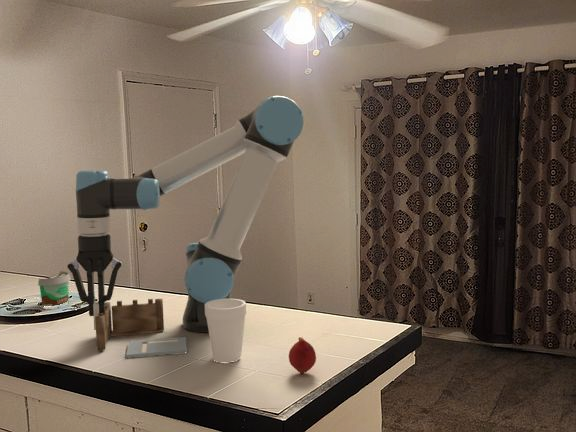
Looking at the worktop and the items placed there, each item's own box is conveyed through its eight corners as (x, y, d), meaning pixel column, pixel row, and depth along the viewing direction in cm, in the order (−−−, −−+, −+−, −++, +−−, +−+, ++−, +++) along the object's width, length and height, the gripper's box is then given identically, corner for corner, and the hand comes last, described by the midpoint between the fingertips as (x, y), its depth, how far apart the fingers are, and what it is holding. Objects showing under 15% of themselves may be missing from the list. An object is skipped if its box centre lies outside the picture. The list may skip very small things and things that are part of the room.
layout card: (185, 340, 149) (185, 336, 149) (186, 353, 140) (186, 349, 140) (129, 344, 147) (129, 340, 147) (126, 358, 137) (126, 354, 137)
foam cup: (227, 348, 142) (225, 296, 141) (255, 356, 136) (254, 302, 135) (198, 360, 135) (196, 305, 133) (226, 369, 129) (224, 311, 127)
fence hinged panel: (103, 334, 154) (102, 303, 153) (111, 333, 154) (110, 303, 153) (96, 350, 141) (94, 317, 140) (105, 350, 141) (103, 317, 140)
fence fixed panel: (164, 327, 160) (162, 296, 159) (163, 332, 156) (162, 300, 155) (105, 332, 157) (104, 300, 156) (104, 336, 153) (102, 304, 152)
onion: (315, 368, 129) (314, 332, 128) (317, 378, 123) (316, 341, 122) (288, 368, 128) (287, 333, 128) (289, 379, 123) (288, 342, 122)
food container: (58, 311, 178) (55, 279, 177) (39, 311, 180) (37, 279, 179) (80, 301, 190) (78, 271, 189) (62, 300, 192) (61, 270, 191)
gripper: (63, 237, 137) (67, 334, 140) (120, 235, 140) (122, 331, 143) (69, 232, 145) (72, 325, 148) (122, 231, 147) (125, 322, 150)
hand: (97, 328), depth 145 cm, fingers closed
